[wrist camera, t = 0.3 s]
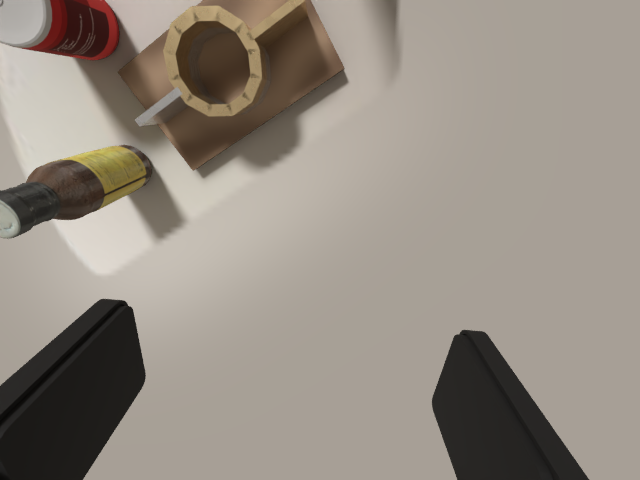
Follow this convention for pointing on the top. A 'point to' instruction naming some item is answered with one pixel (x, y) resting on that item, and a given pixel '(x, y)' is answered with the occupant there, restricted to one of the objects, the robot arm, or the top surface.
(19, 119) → the top surface
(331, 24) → the top surface
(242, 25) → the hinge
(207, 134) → the walnut board
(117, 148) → the sauce bottle
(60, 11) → the canned food
